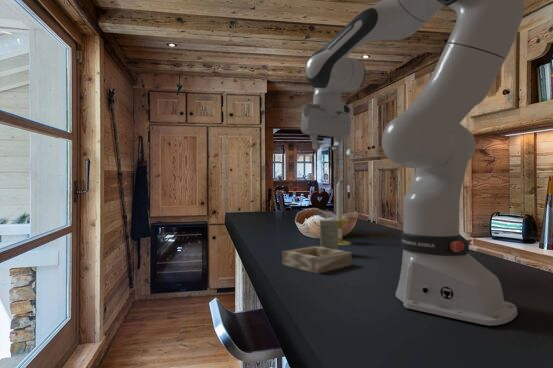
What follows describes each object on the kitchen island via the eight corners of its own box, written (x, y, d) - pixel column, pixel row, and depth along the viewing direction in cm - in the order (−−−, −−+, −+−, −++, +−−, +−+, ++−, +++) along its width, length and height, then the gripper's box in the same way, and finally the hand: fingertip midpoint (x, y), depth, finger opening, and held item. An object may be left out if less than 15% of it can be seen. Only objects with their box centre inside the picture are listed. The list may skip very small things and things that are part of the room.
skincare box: (337, 253, 126) (337, 219, 126) (338, 255, 121) (338, 220, 121) (319, 253, 126) (319, 219, 126) (319, 255, 122) (319, 220, 122)
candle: (323, 242, 149) (323, 178, 149) (344, 241, 152) (344, 178, 152) (333, 246, 140) (333, 178, 140) (356, 245, 143) (356, 178, 143)
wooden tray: (351, 265, 107) (351, 252, 107) (317, 273, 97) (317, 259, 97) (315, 257, 119) (315, 245, 119) (282, 264, 109) (282, 251, 109)
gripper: (311, 100, 103) (310, 147, 103) (354, 109, 116) (353, 151, 117) (296, 103, 108) (295, 148, 108) (339, 111, 121) (338, 152, 121)
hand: (325, 150), depth 112 cm, fingers open, 8 cm apart
